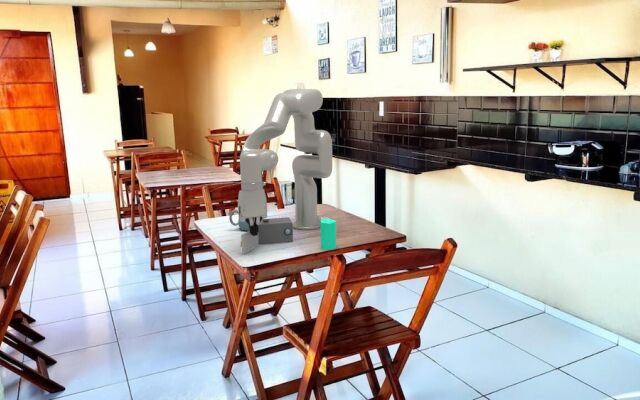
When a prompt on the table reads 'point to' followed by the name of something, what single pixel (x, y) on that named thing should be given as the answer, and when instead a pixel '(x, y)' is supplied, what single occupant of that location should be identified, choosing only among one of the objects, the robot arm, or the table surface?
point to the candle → (328, 234)
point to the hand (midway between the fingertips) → (254, 234)
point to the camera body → (275, 231)
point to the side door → (249, 241)
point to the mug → (241, 224)
